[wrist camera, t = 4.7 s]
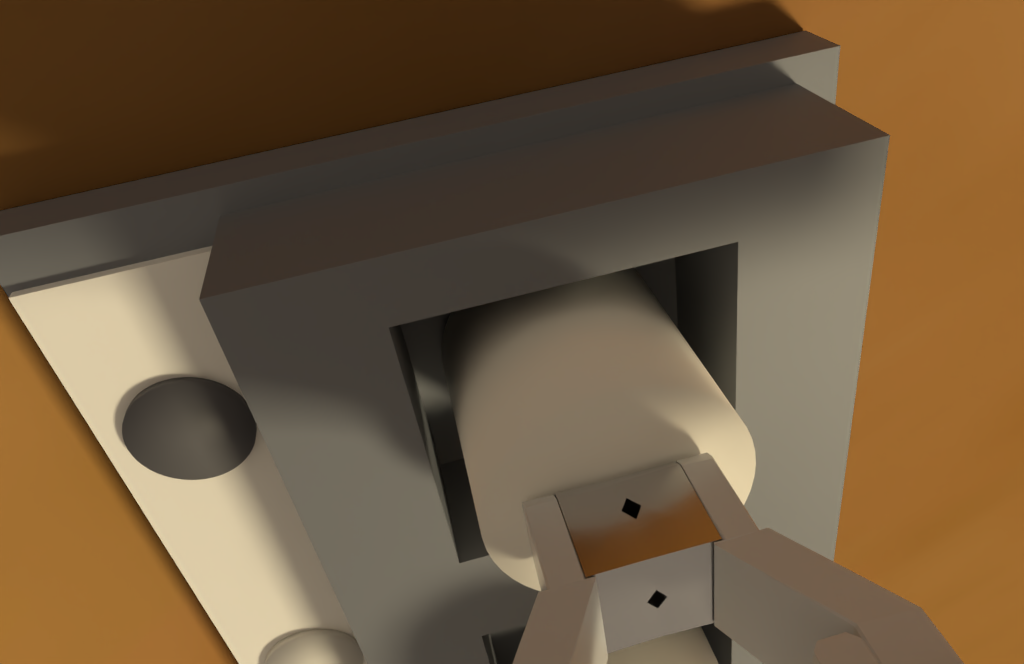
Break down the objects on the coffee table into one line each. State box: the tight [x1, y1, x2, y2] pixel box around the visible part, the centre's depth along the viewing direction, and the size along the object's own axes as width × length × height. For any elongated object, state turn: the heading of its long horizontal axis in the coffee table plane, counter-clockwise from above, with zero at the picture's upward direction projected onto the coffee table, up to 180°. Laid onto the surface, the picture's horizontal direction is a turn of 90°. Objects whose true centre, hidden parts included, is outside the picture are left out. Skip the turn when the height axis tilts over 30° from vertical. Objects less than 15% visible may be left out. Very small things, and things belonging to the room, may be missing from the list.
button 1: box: [442, 268, 756, 591], centre depth 14 cm, size 4×4×4 cm
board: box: [0, 31, 890, 664], centre depth 20 cm, size 15×25×4 cm, turn 9°
